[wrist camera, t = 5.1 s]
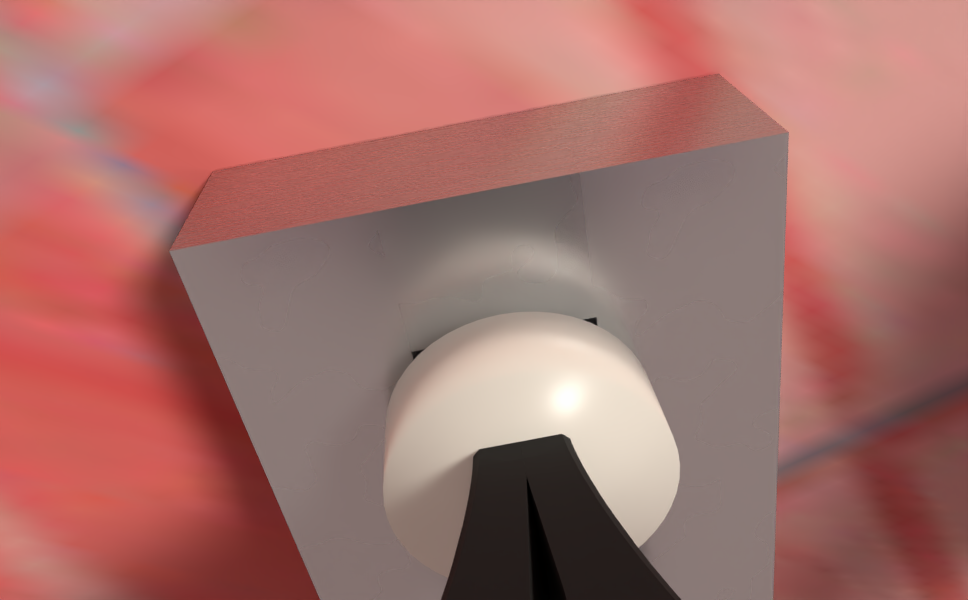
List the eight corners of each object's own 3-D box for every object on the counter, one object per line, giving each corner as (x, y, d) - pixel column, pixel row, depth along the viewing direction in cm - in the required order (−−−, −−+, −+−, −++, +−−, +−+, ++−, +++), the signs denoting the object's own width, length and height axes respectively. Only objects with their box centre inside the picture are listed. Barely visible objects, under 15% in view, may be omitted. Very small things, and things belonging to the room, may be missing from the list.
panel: (718, 73, 14) (788, 131, 11) (728, 718, 24) (765, 824, 22) (212, 171, 14) (169, 250, 11) (438, 769, 25) (441, 881, 22)
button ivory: (612, 222, 14) (673, 343, 11) (631, 416, 16) (685, 562, 13) (362, 270, 14) (348, 404, 11) (416, 455, 16) (418, 611, 13)
